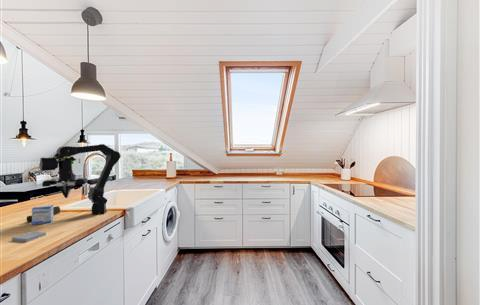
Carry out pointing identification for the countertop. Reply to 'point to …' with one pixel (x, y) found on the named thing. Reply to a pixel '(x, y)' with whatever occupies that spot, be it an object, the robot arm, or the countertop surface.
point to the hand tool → (55, 211)
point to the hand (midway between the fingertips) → (66, 197)
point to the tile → (28, 236)
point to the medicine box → (42, 214)
